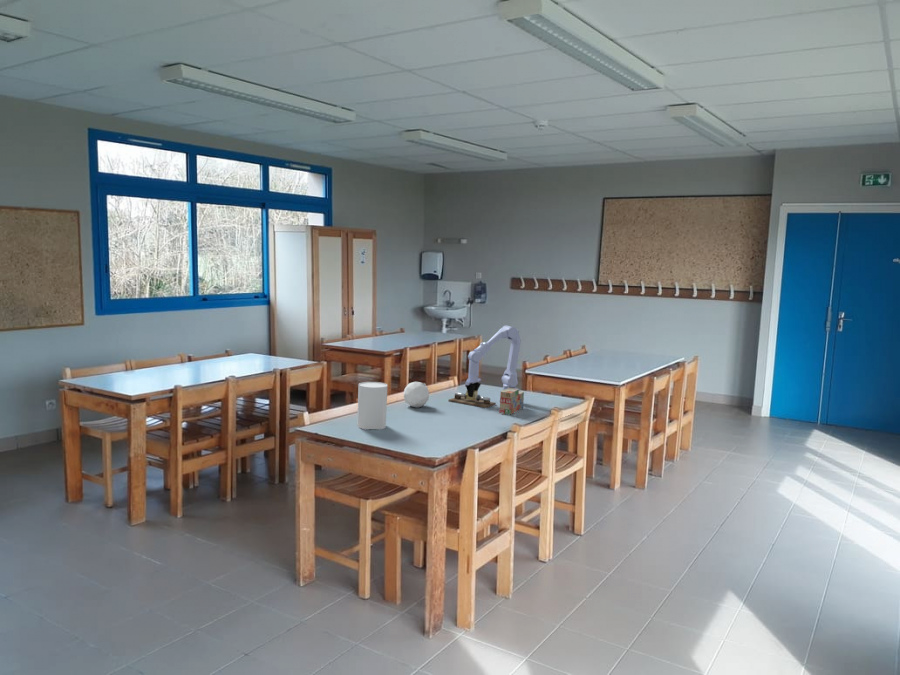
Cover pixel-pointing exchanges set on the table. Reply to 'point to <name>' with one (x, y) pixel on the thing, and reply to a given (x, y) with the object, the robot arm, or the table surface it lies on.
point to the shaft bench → (472, 402)
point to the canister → (372, 405)
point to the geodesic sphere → (416, 394)
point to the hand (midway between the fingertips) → (472, 396)
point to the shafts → (476, 397)
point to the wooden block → (472, 396)
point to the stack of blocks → (511, 400)
